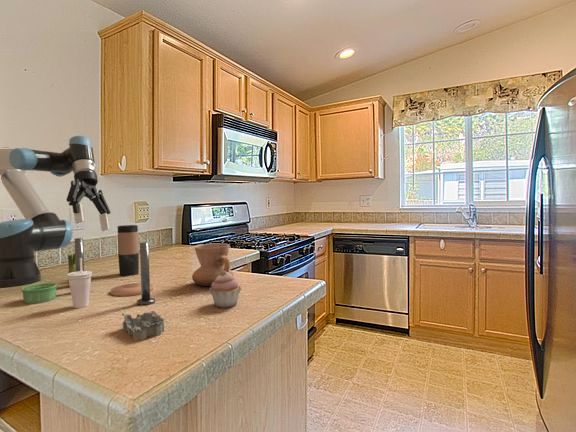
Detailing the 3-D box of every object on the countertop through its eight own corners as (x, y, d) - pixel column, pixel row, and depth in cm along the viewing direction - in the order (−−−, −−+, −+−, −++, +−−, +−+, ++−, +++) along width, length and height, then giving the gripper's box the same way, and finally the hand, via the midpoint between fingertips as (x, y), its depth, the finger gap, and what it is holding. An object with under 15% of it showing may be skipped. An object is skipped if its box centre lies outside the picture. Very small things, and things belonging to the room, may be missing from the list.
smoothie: (98, 303, 102) (96, 257, 102) (79, 310, 96) (77, 260, 96) (82, 301, 104) (80, 256, 104) (62, 308, 98) (60, 259, 98)
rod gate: (68, 292, 115) (66, 239, 114) (83, 289, 119) (81, 237, 118) (145, 306, 100) (143, 244, 99) (158, 301, 104) (156, 242, 103)
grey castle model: (120, 329, 83) (119, 312, 83) (152, 322, 88) (151, 306, 87) (133, 343, 75) (132, 324, 74) (167, 334, 79) (167, 316, 79)
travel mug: (142, 272, 146) (141, 225, 145) (133, 276, 138) (131, 226, 137) (125, 272, 147) (124, 225, 146) (115, 276, 139) (113, 226, 138)
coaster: (102, 293, 114) (101, 290, 113) (134, 284, 125) (134, 281, 125) (130, 298, 108) (129, 294, 108) (161, 288, 120) (161, 285, 120)
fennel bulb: (70, 288, 121) (68, 254, 120) (64, 286, 124) (63, 253, 123) (87, 284, 125) (86, 252, 125) (82, 283, 128) (80, 250, 128)
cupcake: (206, 302, 103) (205, 269, 102) (237, 298, 106) (236, 266, 106) (212, 311, 94) (211, 275, 94) (245, 307, 98) (245, 272, 97)
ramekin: (54, 294, 113) (53, 281, 113) (60, 300, 107) (60, 286, 107) (20, 300, 107) (19, 286, 107) (24, 306, 101) (23, 291, 101)
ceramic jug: (183, 283, 126) (182, 244, 125) (217, 277, 136) (217, 241, 135) (208, 293, 113) (207, 250, 112) (245, 285, 123) (244, 245, 122)
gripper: (69, 157, 118) (77, 214, 113) (114, 182, 142) (123, 229, 137) (49, 165, 119) (56, 222, 113) (98, 187, 143) (106, 235, 137)
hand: (93, 226), depth 125 cm, fingers open, 13 cm apart
